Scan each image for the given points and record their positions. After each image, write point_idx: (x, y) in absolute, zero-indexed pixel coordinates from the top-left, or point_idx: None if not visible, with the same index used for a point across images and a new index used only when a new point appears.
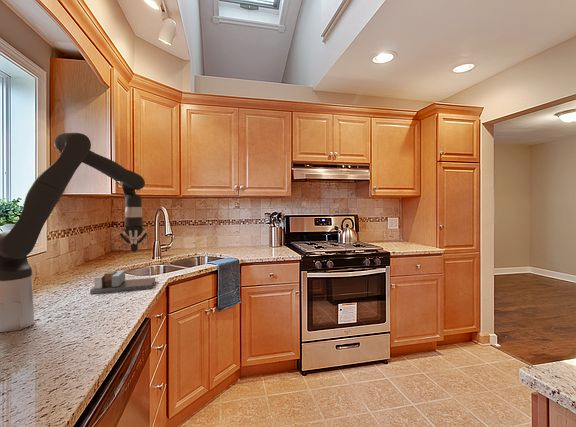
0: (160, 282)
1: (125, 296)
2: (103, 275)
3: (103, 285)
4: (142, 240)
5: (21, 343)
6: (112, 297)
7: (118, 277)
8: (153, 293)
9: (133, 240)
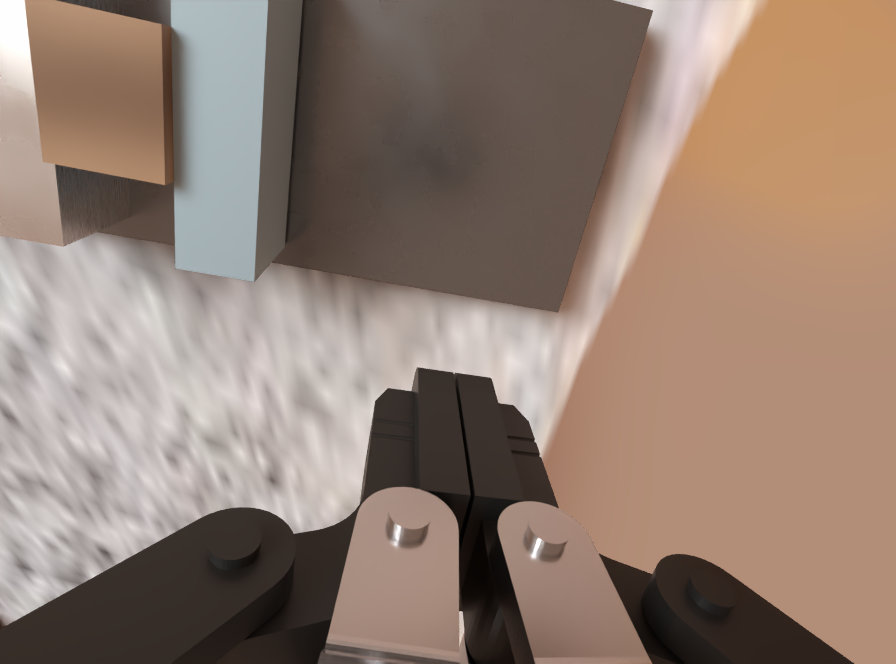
0: (672, 79)
1: (364, 393)
2: (36, 115)
3: None
4: (777, 648)
5: None
6: (275, 376)
7: (258, 275)
8: (549, 408)
9: (434, 632)
